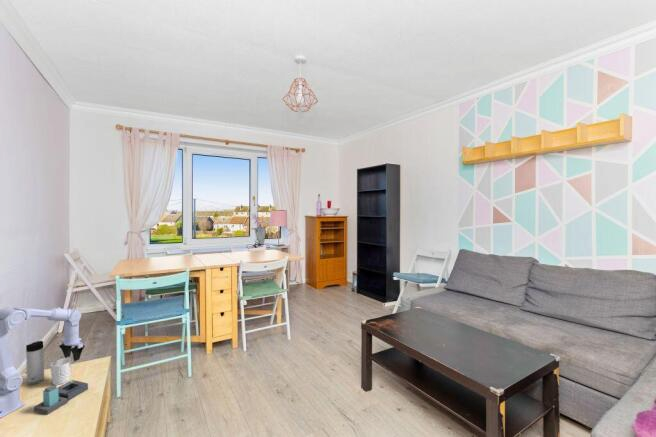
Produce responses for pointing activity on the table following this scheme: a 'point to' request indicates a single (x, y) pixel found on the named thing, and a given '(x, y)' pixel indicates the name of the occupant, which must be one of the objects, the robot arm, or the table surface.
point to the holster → (52, 408)
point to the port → (72, 389)
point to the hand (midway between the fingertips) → (72, 358)
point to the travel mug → (35, 362)
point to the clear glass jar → (61, 371)
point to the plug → (50, 396)
